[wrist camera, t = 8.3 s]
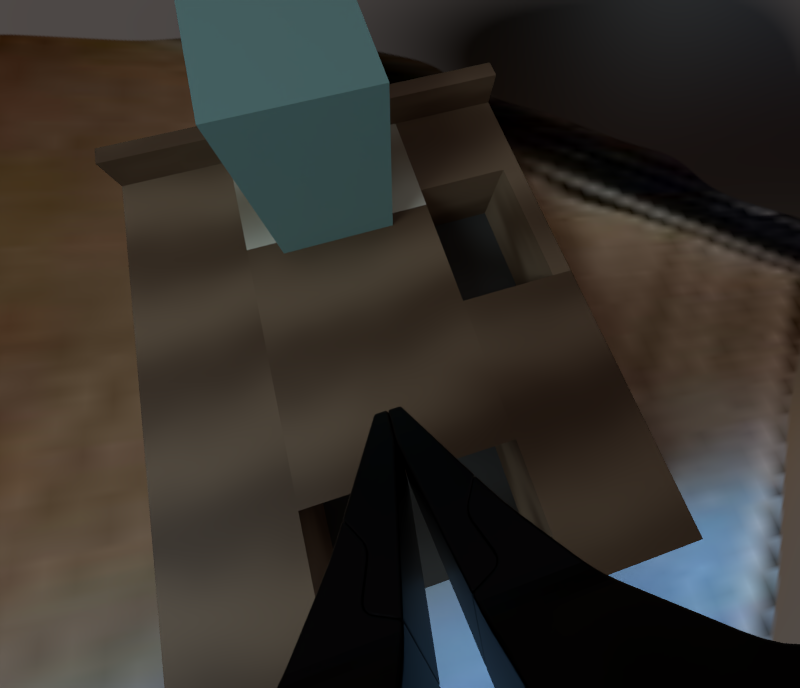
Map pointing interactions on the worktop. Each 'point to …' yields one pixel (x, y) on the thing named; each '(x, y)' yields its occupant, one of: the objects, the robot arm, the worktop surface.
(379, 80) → the teal block
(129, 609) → the worktop surface
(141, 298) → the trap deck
